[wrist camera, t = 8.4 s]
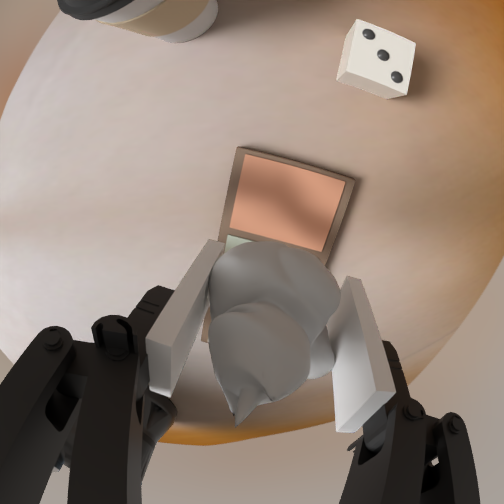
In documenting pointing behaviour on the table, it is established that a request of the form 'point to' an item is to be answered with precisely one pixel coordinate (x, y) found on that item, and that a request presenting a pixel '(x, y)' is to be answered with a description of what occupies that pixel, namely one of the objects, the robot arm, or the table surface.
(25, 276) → the table surface
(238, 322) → the white lumpy piece
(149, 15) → the coffee cup
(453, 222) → the table surface
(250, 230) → the game board
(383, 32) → the die
